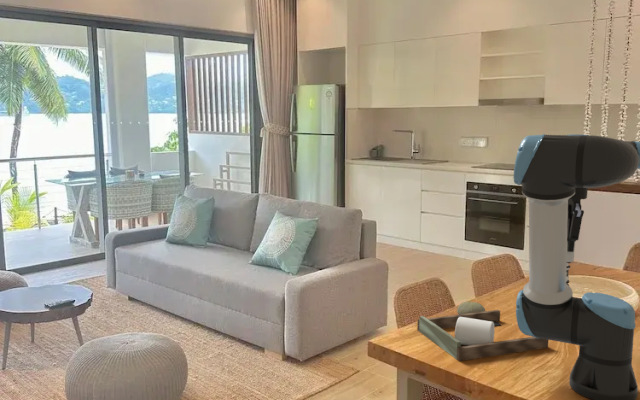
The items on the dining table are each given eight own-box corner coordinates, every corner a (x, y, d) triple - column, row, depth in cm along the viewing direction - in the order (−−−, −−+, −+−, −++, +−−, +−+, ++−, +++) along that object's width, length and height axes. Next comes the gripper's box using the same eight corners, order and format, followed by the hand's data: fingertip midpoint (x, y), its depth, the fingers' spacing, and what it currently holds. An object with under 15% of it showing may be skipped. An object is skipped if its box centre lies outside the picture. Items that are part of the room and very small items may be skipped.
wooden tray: (497, 319, 188) (498, 305, 187) (548, 347, 165) (549, 331, 164) (417, 330, 179) (417, 315, 178) (458, 361, 156) (459, 343, 155)
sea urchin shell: (460, 304, 198) (476, 291, 194) (475, 322, 196) (492, 310, 192) (450, 311, 191) (467, 298, 187) (466, 330, 188) (483, 317, 185)
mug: (488, 353, 161) (490, 327, 160) (454, 347, 166) (455, 321, 164) (496, 339, 172) (497, 314, 170) (463, 333, 176) (464, 309, 175)
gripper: (595, 187, 164) (588, 266, 166) (579, 184, 177) (573, 258, 179) (568, 186, 165) (562, 265, 167) (554, 183, 178) (549, 256, 180)
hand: (568, 261), depth 173 cm, fingers closed
